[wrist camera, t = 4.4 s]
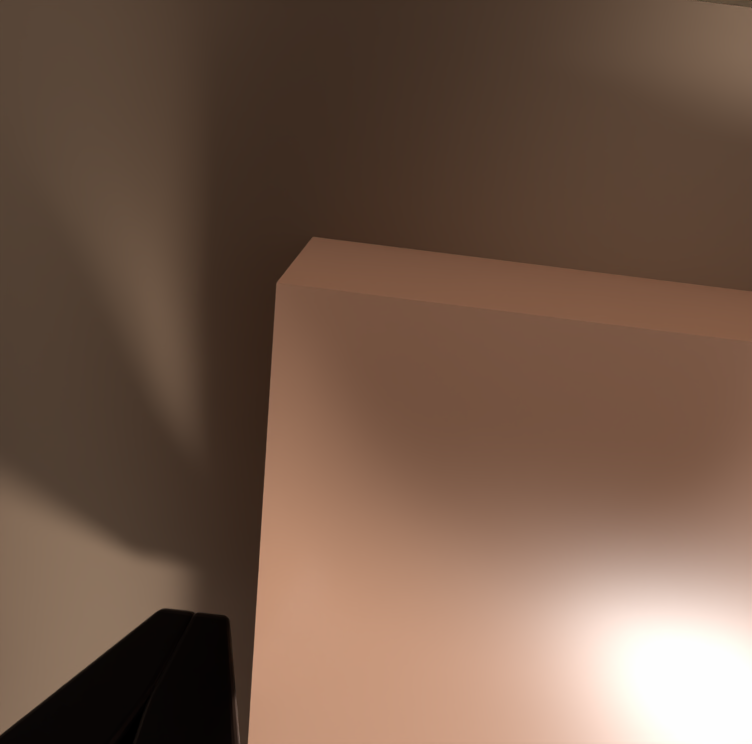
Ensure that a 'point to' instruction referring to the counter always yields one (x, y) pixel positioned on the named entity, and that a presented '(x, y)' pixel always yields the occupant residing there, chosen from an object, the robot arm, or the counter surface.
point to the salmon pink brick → (503, 506)
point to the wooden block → (293, 245)
